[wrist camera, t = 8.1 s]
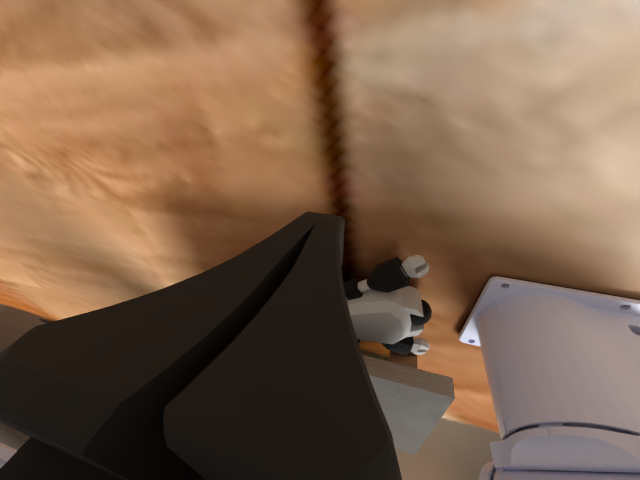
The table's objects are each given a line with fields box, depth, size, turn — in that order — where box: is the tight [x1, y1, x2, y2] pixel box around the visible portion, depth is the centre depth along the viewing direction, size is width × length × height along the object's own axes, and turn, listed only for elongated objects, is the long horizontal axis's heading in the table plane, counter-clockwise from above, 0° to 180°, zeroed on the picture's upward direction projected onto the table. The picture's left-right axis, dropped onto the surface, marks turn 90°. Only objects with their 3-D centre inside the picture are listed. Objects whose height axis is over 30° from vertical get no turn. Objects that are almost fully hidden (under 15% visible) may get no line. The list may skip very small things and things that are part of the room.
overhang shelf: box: [358, 340, 455, 455], centre depth 24 cm, size 19×11×8 cm, turn 92°
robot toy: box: [344, 255, 432, 355], centre depth 23 cm, size 12×4×15 cm
